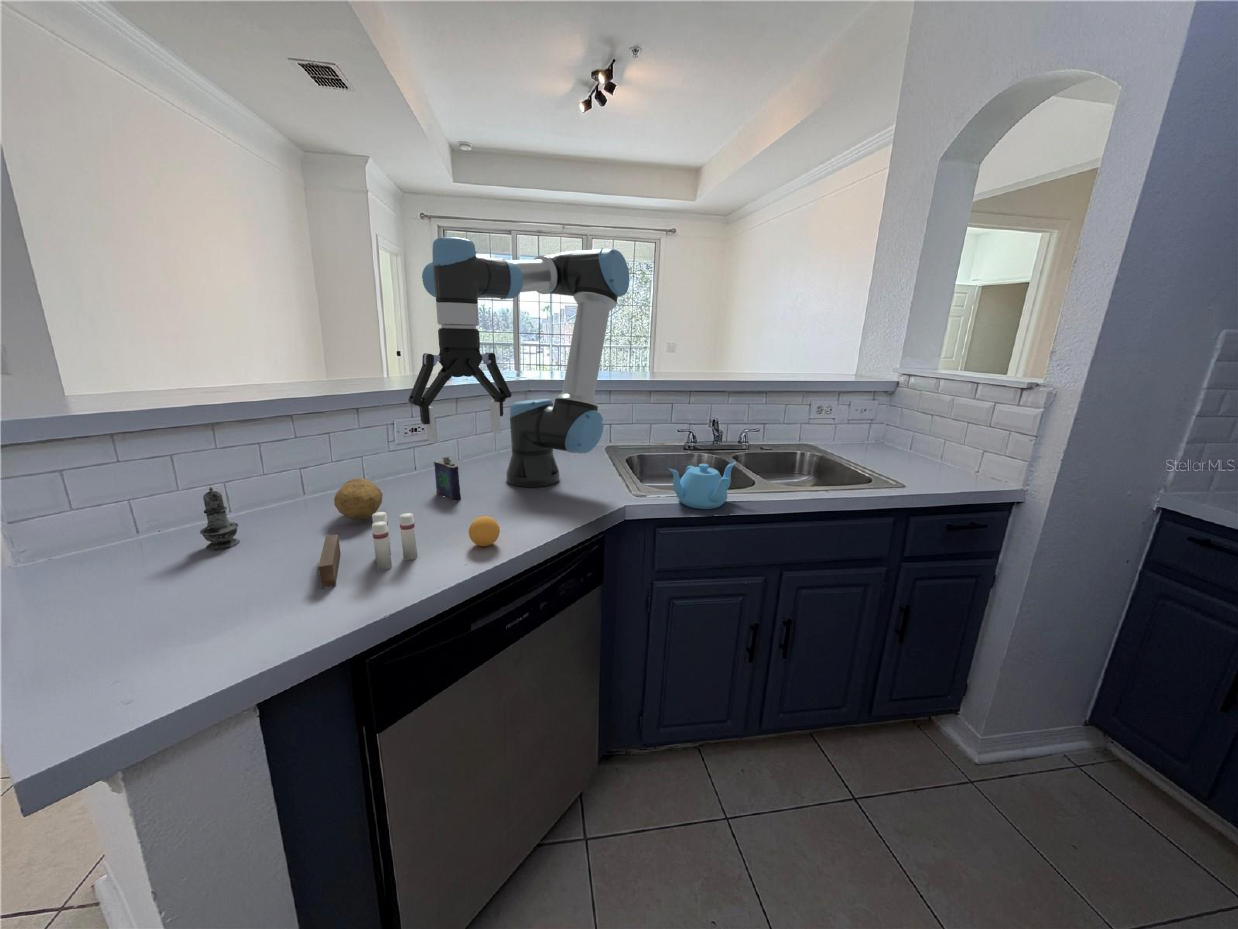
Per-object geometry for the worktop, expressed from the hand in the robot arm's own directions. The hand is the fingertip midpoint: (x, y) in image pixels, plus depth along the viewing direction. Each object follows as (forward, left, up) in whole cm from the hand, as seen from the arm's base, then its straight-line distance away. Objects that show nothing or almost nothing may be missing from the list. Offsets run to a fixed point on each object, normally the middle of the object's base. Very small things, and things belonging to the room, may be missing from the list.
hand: (465, 436), depth 98 cm
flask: (+1, -25, -21) cm, 33 cm away
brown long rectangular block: (+25, +7, -21) cm, 34 cm away
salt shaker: (+45, -12, -21) cm, 52 cm away
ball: (-2, +7, -18) cm, 20 cm away
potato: (+21, -18, -21) cm, 35 cm away
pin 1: (+17, +5, -21) cm, 28 cm away
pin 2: (+17, +10, -21) cm, 29 cm away
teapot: (-58, +4, -21) cm, 62 cm away
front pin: (+12, +7, -21) cm, 26 cm away
